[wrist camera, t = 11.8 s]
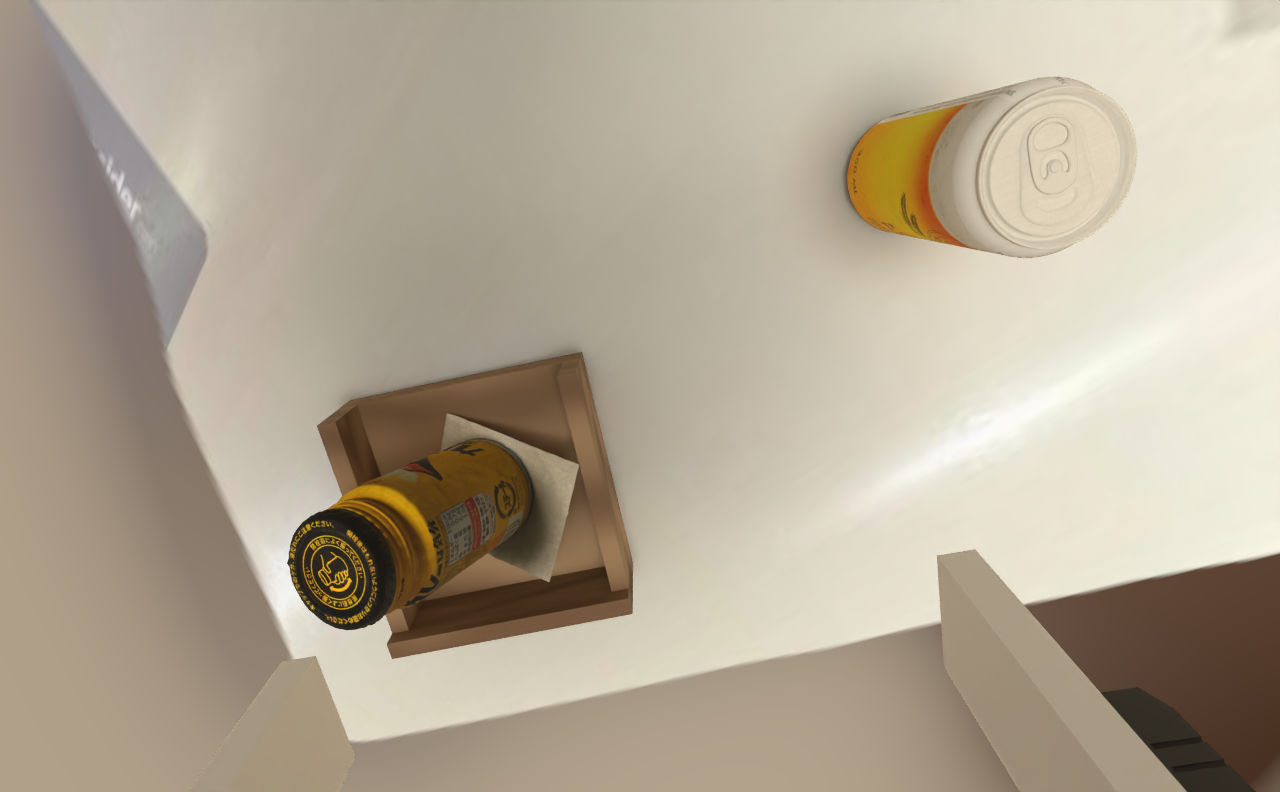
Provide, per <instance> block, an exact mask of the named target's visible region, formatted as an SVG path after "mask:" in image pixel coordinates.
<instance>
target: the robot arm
mask: <svg viewBox="0 0 1280 792" xmlns="http://www.w3.org/2000/svg"><path fill="white" fill-rule="evenodd" d="M937 564H938V579H939V594H940V609H941V625H942V640H943V653H944V654H943V655H944V667H945V669H946V671H947V672H948V674H949V676H950V678H951V679H952V681H953V682H954V684H955V686H956V687H957V689H958V691H959V692H960V694H961V695H962V697H963V699H964V701H965V702H966V704H967V705H968V707H969V709H970V710H971V712H972V714H973V715H974V717H975V719H976V720H977V722H978V724H979V725H980V727H981V729H982V730H983V732H984V733H985V735H986V737H987V738H988V740H989V742H990V743H991V745H992V747H993V748H994V750H995V752H996V753H997V755H998V756H999V758H1000V760H1001V761H1002V763H1003V764H1004V766H1005V768H1006V770H1007V771H1008V773H1009V775H1010V776H1011V778H1012V780H1013V781H1014V783H1015V784H1016V786H1017V788H1018V789H1019V791H1020V792H1255V791H1254V790H1253V789H1252V788H1251V787H1250V786H1249V785H1248V784H1247V783H1246V782H1245V780H1243V778H1241V777H1240V775H1239V774H1238V773H1237V772H1236V771H1235V770H1234V769H1233V768H1232V767H1231V766H1229V765H1228V766H1227V765H1226V764H1225V762H1224V759H1223V758H1222V757H1221V756H1220V755H1219V754H1218V753H1217V752H1216V751H1215V750H1214V749H1213V748H1212V747H1211V746H1210V745H1209V744H1208V743H1207V742H1203V741H1202V739H1201V736H1200V735H1199V734H1198V733H1197V732H1196V731H1195V730H1194V729H1193V728H1192V727H1191V726H1190V725H1189V724H1188V723H1187V722H1186V721H1185V720H1184V719H1183V718H1182V717H1181V715H1180V714H1179V713H1178V712H1177V711H1176V710H1174V709H1173V708H1172V707H1170V706H1168V705H1167V704H1165V703H1163V702H1162V701H1160V700H1158V699H1156V698H1155V697H1153V696H1151V695H1150V694H1148V693H1146V692H1145V691H1143V690H1141V689H1140V688H1138V687H1136V688H1130V689H1123V690H1116V691H1109V692H1103V693H1100V692H1099V691H1098V690H1097V688H1096V687H1095V686H1094V685H1093V684H1092V683H1091V682H1090V680H1089V679H1088V678H1087V677H1086V676H1085V675H1084V674H1083V672H1082V671H1081V670H1080V669H1079V668H1078V667H1077V665H1076V664H1075V663H1074V662H1073V661H1072V660H1071V659H1070V658H1069V656H1068V655H1067V654H1066V653H1065V652H1064V651H1063V649H1062V648H1061V647H1060V646H1059V645H1058V644H1057V643H1056V641H1055V640H1054V639H1053V638H1052V637H1051V636H1050V635H1049V634H1048V632H1047V631H1046V630H1045V629H1044V628H1043V627H1042V626H1041V624H1040V623H1039V622H1038V621H1037V620H1036V619H1035V618H1034V616H1033V615H1032V614H1031V613H1030V612H1029V611H1028V609H1027V608H1026V607H1025V606H1024V605H1023V604H1022V603H1021V601H1020V600H1019V599H1018V598H1017V597H1016V596H1015V595H1014V593H1013V592H1012V591H1011V590H1010V589H1009V588H1008V587H1007V585H1006V584H1005V583H1004V582H1003V581H1002V580H1001V579H1000V577H999V576H998V575H997V574H996V573H995V572H994V571H993V569H992V568H991V567H990V566H989V565H988V564H987V563H986V561H985V560H984V559H983V558H982V557H981V556H980V555H979V553H978V552H977V551H976V550H970V551H963V552H957V553H951V554H945V555H939V556H937ZM354 759H355V755H354V753H353V750H352V748H351V745H350V742H349V740H348V737H347V735H346V732H345V730H344V727H343V725H342V722H341V719H340V717H339V714H338V712H337V709H336V707H335V704H334V701H333V699H332V696H331V694H330V691H329V689H328V686H327V684H326V681H325V678H324V676H323V673H322V671H321V668H320V666H319V663H318V661H317V658H316V656H314V657H308V658H302V659H295V660H289V661H283V662H281V663H280V665H279V666H278V667H277V669H276V670H275V671H274V673H273V674H272V676H271V677H270V678H269V680H268V681H267V683H266V684H265V685H264V687H263V688H262V689H261V691H260V692H259V694H258V695H257V697H256V698H255V699H254V701H253V702H252V703H251V705H250V706H249V708H248V709H247V710H246V712H245V713H244V714H243V716H242V717H241V719H240V720H239V721H238V723H237V724H236V725H235V727H234V728H233V730H232V731H231V733H230V734H229V735H228V737H227V738H226V740H225V741H224V742H223V744H222V745H221V746H220V748H219V749H218V751H217V752H216V753H215V755H214V756H213V758H212V759H211V760H210V762H209V763H208V764H207V766H206V767H205V769H204V770H203V771H202V773H201V774H200V775H199V777H198V778H197V780H196V781H195V782H194V784H193V785H192V787H191V788H190V789H189V791H188V792H339V791H340V789H341V786H342V784H343V782H344V780H345V778H346V776H347V774H348V772H349V770H350V768H351V765H352V763H353V761H354Z"/></svg>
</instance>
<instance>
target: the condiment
mask: <svg viewBox="0 0 1280 792" xmlns="http://www.w3.org/2000/svg"><path fill="white" fill-rule="evenodd" d="M578 467H579V464H576V463H574V462H571V461H568V460H565V459H563V458H561V457H558V456H556V455H553V454H550V453H547V452H545V451H543V450H540V449H538V448H535V447H532V446H530V445H527V444H525V443H523V442H520V441H518V440H516V439H513V438H511V437H509V436H506V435H504V434H502V433H499V432H496V431H493V430H491V429H489V428H486V427H483V426H481V425H479V424H476V423H473V422H470V421H468V420H466V419H463V418H461V417H458V416H455V415H452V414H448V413H447V415H446V421H445V427H444V434H443V438H442V446H441V451H439V452H437V453H434V454H432V455H430V456H427V457H425V458H422V459H421V460H419V461H416V462H412V463H409V464H407V465H406V466H404V467H401V468H400V469H397V470H395V471H393V472H390V473H388V474H386V475H384V476H381V477H378V478H376V479H373V480H370V481H368V482H365V483H363V484H361V485H360V486H358V487H356V488H354V489H352V490H350V491H349V492H348V493H346V494H345V495H343V496H342V497H341V498H340V500H339V501H338V502H337V503H336V504H334V505H333V506H331V507H330V508H329V509H327V510H324V511H322V512H318V513H316V514H314V515H313V516H310V517H309V518H308V519H307V520H305V521H304V522H303V523H302V524H301V525H300V526H299V527H298V529H297V530H296V532H295V533H294V535H293V538H292V541H291V545H290V551H289V559H288V563H287V564H288V565H289V567H290V573H291V578H292V582H293V584H294V586H295V589H296V591H297V592H298V594H299V596H300V598H301V599H302V601H303V602H304V604H305V605H306V606H307V608H308V609H309V610H310V611H311V612H313V613H314V614H315V615H316V616H317V617H318V618H319V619H321V620H322V621H323V622H325V623H326V624H329V625H331V626H333V627H335V628H338V629H344V630H355V629H359V628H364V627H367V625H373V624H375V623H376V622H377V621H379V620H380V619H381V618H382V617H383V616H384V615H386V614H389V613H391V612H393V611H394V610H396V609H402V608H408V607H411V606H413V605H415V604H416V603H419V602H420V601H422V600H424V599H425V598H426V597H428V596H429V595H430V594H432V593H433V592H435V591H436V590H437V589H439V588H440V587H441V586H443V585H444V584H445V583H447V582H449V581H450V580H451V579H453V578H454V577H455V576H457V575H458V574H459V573H461V572H462V571H463V570H465V569H466V568H468V567H469V566H470V565H472V564H473V563H475V562H476V561H478V560H479V559H480V558H482V557H483V556H484V555H486V554H490V555H491V556H493V557H494V558H496V559H498V560H502V561H504V562H507V563H509V564H510V565H513V566H516V567H518V568H520V569H522V570H524V571H526V572H528V573H530V574H531V575H533V576H535V577H538V578H540V579H543V580H545V581H547V582H550V578H551V575H552V570H553V568H554V565H555V560H556V557H557V553H558V549H559V545H560V542H561V538H562V534H563V530H564V526H565V521H566V518H567V515H568V510H569V505H570V500H571V496H572V493H573V489H574V485H575V480H576V475H577V471H578Z"/></svg>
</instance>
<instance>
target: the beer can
mask: <svg viewBox="0 0 1280 792" xmlns="http://www.w3.org/2000/svg"><path fill="white" fill-rule="evenodd" d="M1136 157H1137V150H1136V140H1135V136H1134V132H1133V129H1132V126H1131V124H1130V122H1129V120H1128V118H1127V116H1126V114H1125V113H1124V112H1123V110H1122V109H1121V108H1120V107H1119V106H1118V104H1117V103H1116V102H1114V101H1113V100H1112V99H1111V98H1109V97H1108V96H1106V95H1105V94H1103V93H1101V92H1099V91H1097V90H1096V89H1094V88H1092V87H1091V86H1089V85H1087V84H1085V83H1082V82H1080V81H1077V80H1073V79H1070V78H1063V77H1044V78H1037V79H1033V80H1029V81H1025V82H1021V83H1017V84H1013V85H1009V86H1006V87H1002V88H998V89H994V90H990V91H986V92H982V93H978V94H974V95H970V96H967V97H963V98H959V99H955V100H951V101H947V102H943V103H939V104H935V105H931V106H927V107H924V108H920V109H916V110H912V111H908V112H904V113H900V114H896V115H893V116H890V117H888V118H886V119H884V120H882V121H880V122H879V123H877V124H876V125H874V126H873V127H872V128H871V129H870V130H869V131H868V132H867V133H866V134H865V135H864V136H863V137H862V139H861V140H860V141H859V143H858V144H857V146H856V148H855V150H854V152H853V154H852V157H851V160H850V164H849V168H848V190H849V195H850V198H851V201H852V203H853V205H854V207H855V209H856V210H857V212H858V213H859V214H860V216H861V217H862V218H863V219H864V220H865V221H866V222H868V223H869V224H871V225H872V226H874V227H876V228H878V229H880V230H883V231H887V232H891V233H896V234H901V235H906V236H911V237H916V238H921V239H926V240H931V241H936V242H941V243H946V244H951V245H956V246H961V247H966V248H971V249H976V250H981V251H986V252H991V253H996V254H1001V255H1006V256H1010V257H1018V258H1033V257H1041V256H1045V255H1050V254H1053V253H1056V252H1058V251H1061V250H1063V249H1065V248H1067V247H1069V246H1071V245H1073V244H1074V243H1077V242H1079V241H1081V240H1083V239H1085V238H1087V237H1088V236H1090V235H1092V234H1093V233H1094V232H1096V231H1097V230H1098V229H1100V228H1101V227H1102V226H1103V225H1104V224H1105V223H1106V222H1108V220H1109V219H1110V218H1111V217H1112V216H1113V215H1114V214H1115V212H1116V211H1117V210H1118V208H1119V207H1120V206H1121V204H1122V202H1123V201H1124V199H1125V197H1126V195H1127V193H1128V191H1129V189H1130V186H1131V183H1132V180H1133V177H1134V172H1135V167H1136Z"/></svg>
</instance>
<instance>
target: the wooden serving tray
mask: <svg viewBox="0 0 1280 792" xmlns="http://www.w3.org/2000/svg"><path fill="white" fill-rule="evenodd" d="M447 413H448V414H452V415H455V416H458V417H461V418H463V419H466V420H468V421H470V422H473V423H476V424H479V425H481V426H483V427H486V428H489V429H491V430H493V431H496V432H499V433H502V434H504V435H506V436H509V437H511V438H513V439H516V440H518V441H520V442H523V443H525V444H527V445H530V446H532V447H535V448H538V449H540V450H543V451H545V452H547V453H550V454H553V455H556V456H558V457H561V458H563V459H565V460H568V461H571V462H574V463H576V464H579V467H578V471H577V475H576V480H575V485H574V489H573V493H572V496H571V500H570V505H569V510H568V515H567V518H566V521H565V526H564V530H563V534H562V538H561V542H560V545H559V549H558V553H557V557H556V560H555V565H554V568H553V570H552V575H551V578H550V582H547V581H545V580H543V579H540V578H538V577H535V576H533V575H531V574H530V573H528V572H526V571H524V570H522V569H520V568H518V567H516V566H513V565H510V564H509V563H507V562H504V561H502V560H498V559H496V558H494V557H493V556H491V555H490V554H486V555H484V556H483V557H482V558H480V559H479V560H478V561H476V562H475V563H473V564H472V565H470V566H469V567H468V568H466V569H465V570H463V571H462V572H461V573H459V574H458V575H457V576H455V577H454V578H453V579H451V580H450V581H449V582H447V583H445V584H444V585H443V586H441V587H440V588H439V589H437V590H436V591H435V592H433V593H432V594H430V595H429V596H428V597H426V598H425V599H424V600H422V601H420V602H419V603H416V604H415V605H413V606H411V607H408V608H402V609H396V610H394V611H393V612H391V613H389V614H386V617H387V620H388V622H389V625H390V628H391V631H392V635H391V637H390V639H389V641H388V643H387V646H388V649H389V652H390V654H391V657H392V659H394V658H400V657H405V656H410V655H416V654H421V653H426V652H432V651H437V650H442V649H448V648H453V647H458V646H464V645H469V644H474V643H480V642H485V641H490V640H495V639H501V638H506V637H511V636H517V635H522V634H527V633H533V632H538V631H543V630H549V629H554V628H559V627H565V626H570V625H575V624H581V623H586V622H591V621H597V620H602V619H607V618H613V617H618V616H623V615H629V614H632V612H633V562H632V558H631V554H630V549H629V545H628V541H627V537H626V533H625V529H624V525H623V521H622V516H621V512H620V508H619V504H618V500H617V496H616V492H615V487H614V483H613V479H612V475H611V471H610V467H609V463H608V458H607V454H606V450H605V446H604V442H603V438H602V434H601V429H600V425H599V421H598V417H597V413H596V409H595V405H594V401H593V396H592V392H591V388H590V384H589V380H588V376H587V372H586V367H585V363H584V359H583V355H582V352H581V353H576V354H571V355H566V356H561V357H557V358H552V359H547V360H542V361H538V362H533V363H528V364H523V365H518V366H514V367H509V368H504V369H499V370H494V371H490V372H485V373H480V374H475V375H471V376H466V377H461V378H456V379H451V380H447V381H442V382H437V383H432V384H427V385H423V386H418V387H413V388H408V389H404V390H399V391H394V392H389V393H384V394H380V395H375V396H370V397H365V398H360V399H356V400H351V401H349V402H348V403H346V404H345V405H344V406H342V407H341V408H340V409H338V410H337V411H336V412H335V413H333V414H332V415H331V416H329V417H328V418H327V419H325V420H324V421H323V422H322V423H320V424H319V425H318V426H317V427H318V430H319V433H320V436H321V438H322V441H323V444H324V446H325V449H326V452H327V455H328V457H329V460H330V463H331V466H332V468H333V471H334V474H335V477H336V479H337V482H338V485H339V488H340V490H341V493H342V496H343V495H345V494H346V493H348V492H349V491H350V490H352V489H354V488H356V487H358V486H360V485H361V484H363V483H365V482H368V481H370V480H373V479H376V478H378V477H381V476H384V475H386V474H388V473H390V472H393V471H395V470H397V469H400V468H401V467H404V466H406V465H407V464H409V463H412V462H416V461H419V460H421V459H422V458H425V457H427V456H430V455H432V454H434V453H437V452H439V451H441V446H442V438H443V434H444V427H445V421H446V415H447Z"/></svg>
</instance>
